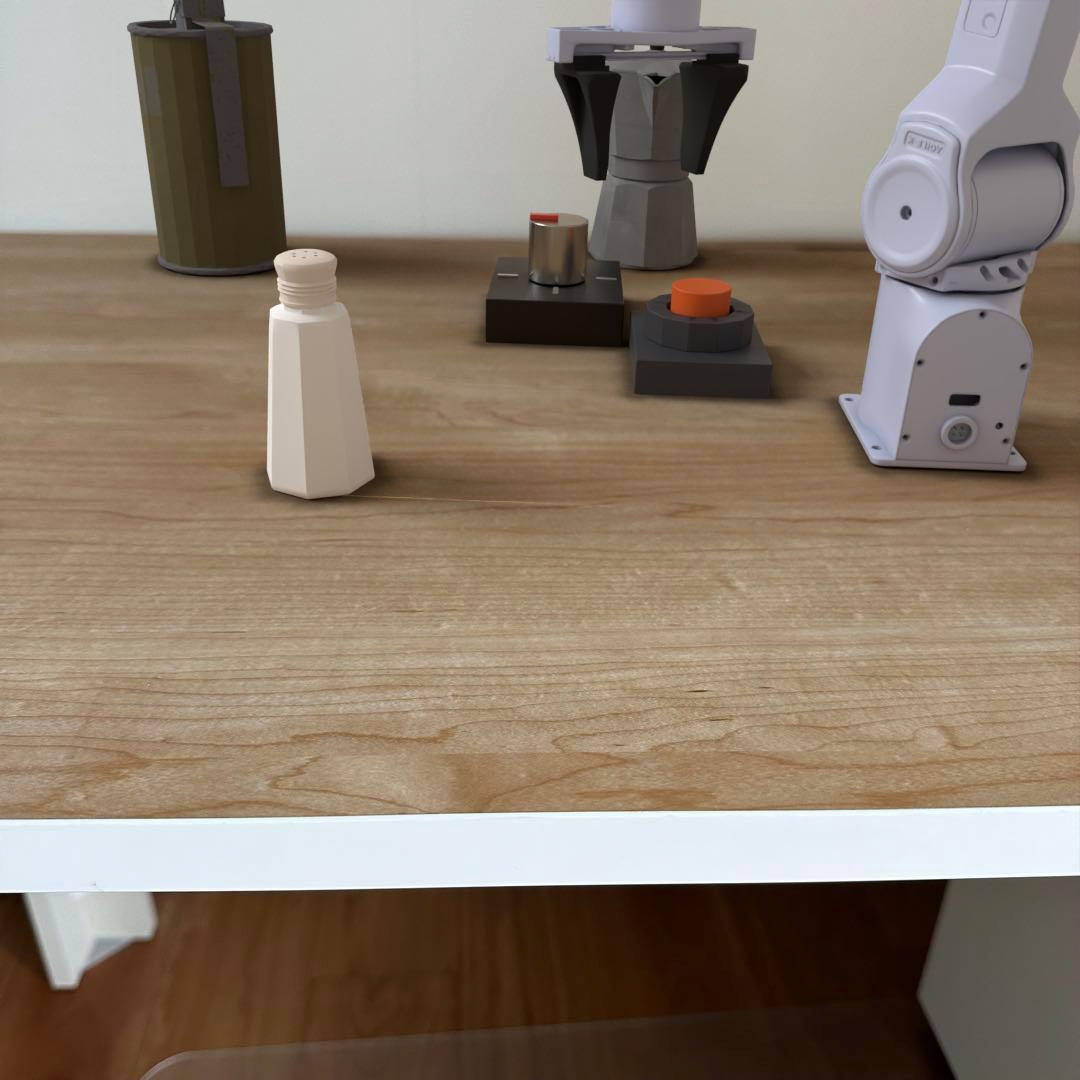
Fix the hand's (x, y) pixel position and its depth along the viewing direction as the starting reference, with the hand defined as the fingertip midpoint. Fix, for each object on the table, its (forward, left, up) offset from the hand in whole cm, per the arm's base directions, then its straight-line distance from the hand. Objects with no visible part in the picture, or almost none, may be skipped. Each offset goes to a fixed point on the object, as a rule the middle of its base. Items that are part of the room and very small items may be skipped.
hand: (644, 175), depth 78 cm
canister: (+10, +33, -10) cm, 36 cm away
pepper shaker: (-30, +17, -10) cm, 35 cm away
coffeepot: (+17, -1, -10) cm, 20 cm away
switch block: (-12, -3, -10) cm, 16 cm away
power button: (-12, -3, -6) cm, 14 cm away
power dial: (-3, +6, -7) cm, 9 cm away
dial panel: (-3, +6, -10) cm, 11 cm away
